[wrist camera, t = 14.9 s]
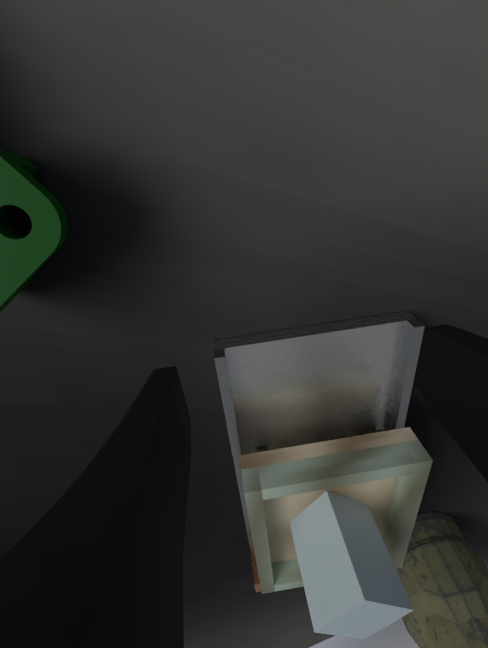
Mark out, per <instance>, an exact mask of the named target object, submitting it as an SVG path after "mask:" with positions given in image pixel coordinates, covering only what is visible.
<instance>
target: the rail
mask: <svg viewBox="0 0 488 648" xmlns="http://www.w3.org/2000/svg"><path fill="white" fill-rule="evenodd" d="M424 327H425V326H424V325H423V324H422V323H421V322H420V321H419V320H417V319H416V318H415V317H414V316H413V315H412V314H411V313H410V312H408V311H404V312H398V313H391V314H385V315H378V316H371V317H365V318H358V319H352V320H345V321H338V322H332V323H325V324H319V325H312V326H305V327H299V328H292V329H286V330H279V331H273V332H266V333H259V334H253V335H246V336H240V337H233V338H226V339H220V340H213V345H214V359H215V364H216V370H217V375H218V380H219V386H220V391H221V396H222V402H223V407H224V412H225V417H226V423H227V428H228V433H229V439H230V444H231V449H232V455H233V460H234V465H235V470H236V476H237V481H238V486H239V492H240V497H241V502H242V508H243V513H244V518H245V523H246V529H247V534H248V539H249V545H250V551H251V559H252V568H253V576H254V584H255V589H256V592H260V591H261V586H260V580H259V575H258V569H257V563H256V558H255V552H254V546H253V541H252V535H251V530H250V524H249V518H248V513H247V507H246V501H245V496H244V489H243V481H242V472H241V464H240V456H239V455H245V454H251V453H254V450H259V449H265V448H269V450H275V449H281V448H287V447H293V446H299V445H305V444H311V443H317V442H323V441H329V440H335V439H341V438H347V437H353V436H359V435H364V432H367V431H373V430H379V429H380V430H382V431H389V430H395V429H400V428H404V425H405V420H406V416H407V411H408V406H409V401H410V396H411V391H412V386H413V381H414V376H415V371H416V367H417V362H418V357H419V352H420V347H421V342H422V337H423V332H424Z"/></svg>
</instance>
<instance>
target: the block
mask: <svg viewBox="0 0 488 648" xmlns="http://www.w3.org/2000/svg"><path fill="white" fill-rule="evenodd" d="M289 523H290V527H291V532H292V536H293V541H294V545H295V549H296V554H297V558H298V563H299V567H300V571H301V576H302V580H303V585H304V589H305V593H306V598H307V602H308V607H309V611H310V615H311V620H312V624H313V629H314V632H316V633H323V634H330V635H337V636H344V637H352V638H359V639H365V638H367V637H368V636H370V635H372V634H374V633H375V632H377V631H379V630H381V629H382V628H384V627H386V626H388V625H389V624H391V623H393V622H395V621H396V620H398V619H400V618H402V617H403V616H405V615H407V614H408V613H410V612H412V611H414V609H413V606H412V604H411V602H410V600H409V597H408V595H407V593H406V591H405V588H404V586H403V584H402V582H401V579H400V577H399V575H398V573H397V570H396V568H395V566H394V564H393V561H392V559H391V557H390V555H389V552H388V550H387V548H386V546H385V543H384V541H383V539H382V537H381V534H380V532H379V530H378V528H377V525H376V523H375V521H374V519H373V516H372V514H371V512H370V509H369V507H368V505H365V504H363V503H360V502H357V501H354V500H351V499H349V498H346V497H343V496H340V495H337V494H335V493H332V492H329V491H325V492H324V493H323V494H322V495H321V496H320V497H318V498H317V499H316V500H315V501H314V502H313V503H312V504H310V505H309V506H308V507H307V508H306V509H305V510H303V511H302V512H301V513H300V514H299V515H298V516H296V517H295V518H294V519H293V520H292V521H291V522H289Z"/></svg>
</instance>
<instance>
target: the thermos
mask: <svg viewBox="0 0 488 648" xmlns="http://www.w3.org/2000/svg"><path fill="white" fill-rule="evenodd" d="M396 570H397V573H398V575H399V577H400V579H401V582H402V584H403V586H404V588H405V591H406V593H407V595H408V597H409V600H410V602H411V604H412V606H413V609H414V611H412V612H410V613H408V614H407V615H405V616H403V617H402V619H403V622H404V624H405V627H406V629H407V631H408V632H409V634H410V635H411V636H412V638H413V639H414V640H415V642H416V643H417V645H418V646H419V647H420V648H488V569H487V567H486V565H485V564H484V562H483V561H482V559H481V558H480V556H479V555H478V553H477V552H476V550H475V549H474V547H473V546H472V545H471V544H470V543H469V542H467V541H466V539H465V538H464V536H463V535H462V533H461V531H460V530H459V528H458V525H457V524H456V522H455V521H454V520H453V518H452V517H451V516H450V515H447V514H444V513H441V512H426V513H420V514H417V517H416V521H415V524H414V528H413V531H412V534H411V538H410V541H409V545H408V548H407V552H406V555H405V559H404V562H403V566H402V568H398V569H396Z"/></svg>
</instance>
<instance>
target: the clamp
mask: <svg viewBox="0 0 488 648" xmlns="http://www.w3.org/2000/svg"><path fill="white" fill-rule="evenodd" d="M37 170H38V168H37V167H36V166H35V165H34V164H33V163H32V162H30V161H29V160H28V159H27V158H26V157H23V156H20V155H17V154H14V153H12V152H9V151H6V150H3V149H0V311H2V310H3V309H4V308H5V307H6V306H7V305H8V304H9V303H10V301H11V300H12V299H13V298H14V297H15V296H16V295H17V294H18V293H19V292H20V291H21V290H22V289H23V288H24V287H25V286H26V285H27V284H28V283H29V282H30V281H31V280H32V279H33V278H34V276H35V274H34V273H35V272H36V271H37V270H38V269H39V268H40V267H41V266H42V265H43V264H44V263H45V262H46V261H47V260H48V259H49V258H50V257H51V256H52V255H53V254H54V253H55V252H56V251H57V250H58V249H59V248H60V247H61V245H62V244H63V242H64V241H65V238H66V236H67V231H68V222H67V217H66V214H65V211H64V209H63V207H62V205H61V204H60V203H59V201H58V200H57V199H56V198H55V197H54V196H53V195H52V194H51V193H50V192H49V191H48V190H47V189H46V188H45V187H43V186H42V185H41V184H40V183H39V182H38V181H37V180H36V179H34V178H33V177H32V175H33V174H34V173H35V172H36V171H37ZM12 206H17V207H20V208H21V209H23V210H24V211H25V212H26V213H27V214H28V215H29V217H30V219H31V222H32V229H31V232H30V233H29V234H28V235H23V234H20V233H18V232H16V231H14V230H13V229H12V228H11V226H10V225H9V223H8V221H7V213H8V210H9V209H10V208H11V207H12Z"/></svg>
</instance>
